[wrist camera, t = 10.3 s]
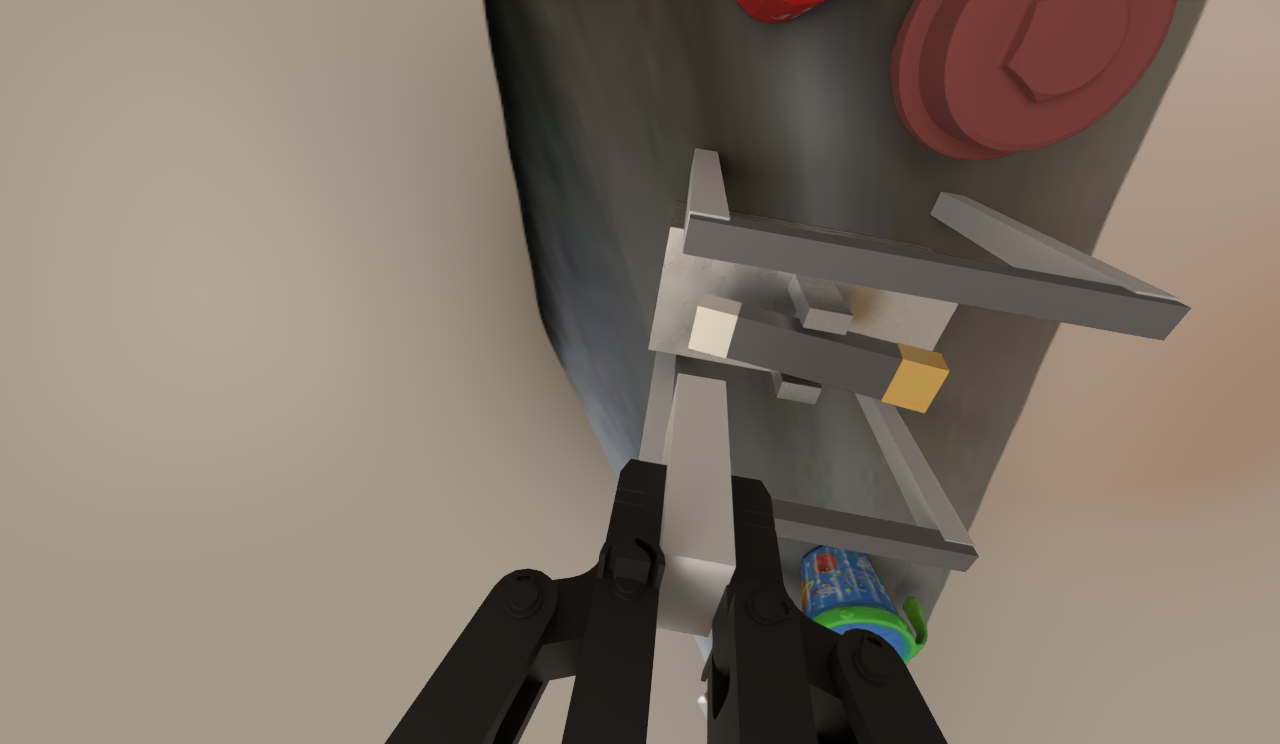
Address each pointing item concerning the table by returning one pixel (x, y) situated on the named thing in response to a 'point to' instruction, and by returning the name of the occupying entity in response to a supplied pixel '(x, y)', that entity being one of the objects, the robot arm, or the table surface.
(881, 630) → the snack cup
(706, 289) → the grey box
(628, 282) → the table surface
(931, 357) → the lever
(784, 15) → the soda can
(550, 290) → the table surface
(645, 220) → the table surface
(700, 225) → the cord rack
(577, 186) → the table surface
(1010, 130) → the mechanical component
